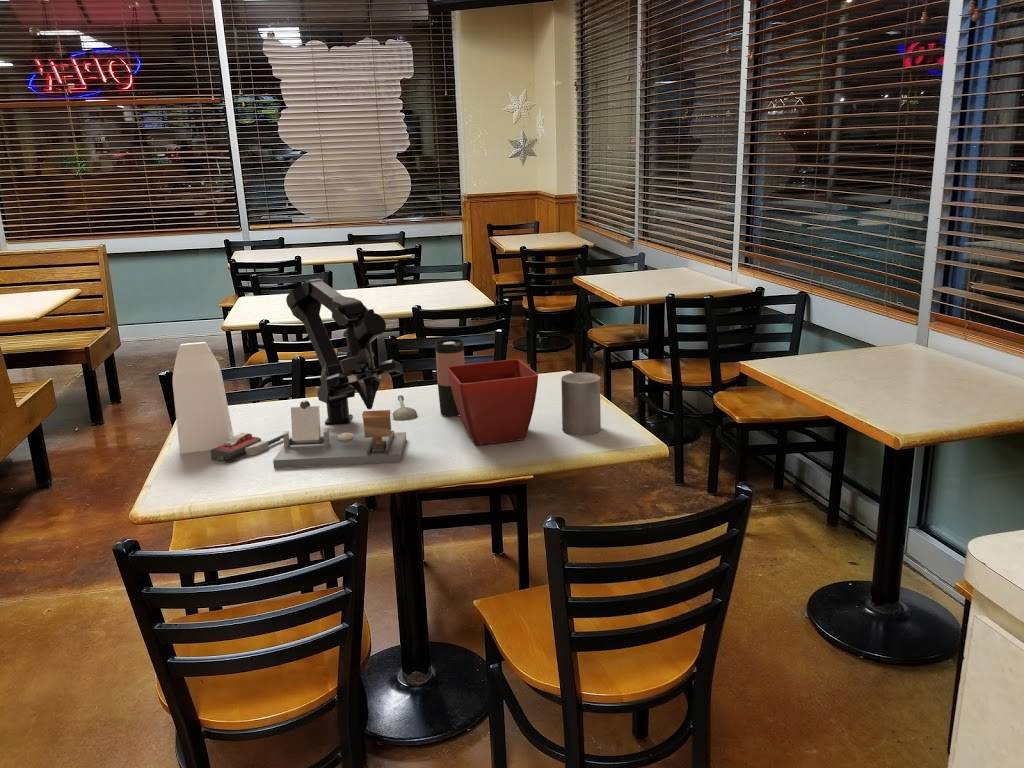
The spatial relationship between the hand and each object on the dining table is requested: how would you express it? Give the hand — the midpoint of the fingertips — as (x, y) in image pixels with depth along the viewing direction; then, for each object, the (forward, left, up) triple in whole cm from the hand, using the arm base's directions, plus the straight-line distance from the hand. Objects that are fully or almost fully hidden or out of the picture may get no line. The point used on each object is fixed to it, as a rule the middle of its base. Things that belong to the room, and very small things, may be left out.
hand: (369, 408), depth 205 cm
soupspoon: (-28, +5, -9) cm, 30 cm away
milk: (-6, -43, -9) cm, 44 cm away
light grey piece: (+6, -15, -6) cm, 17 cm away
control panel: (+7, -6, -9) cm, 13 cm away
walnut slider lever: (+11, +3, -6) cm, 14 cm away
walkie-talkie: (+1, -30, -9) cm, 32 cm away
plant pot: (-1, +30, -9) cm, 32 cm away
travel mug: (-22, +19, -9) cm, 31 cm away
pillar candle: (-2, +52, -9) cm, 53 cm away
